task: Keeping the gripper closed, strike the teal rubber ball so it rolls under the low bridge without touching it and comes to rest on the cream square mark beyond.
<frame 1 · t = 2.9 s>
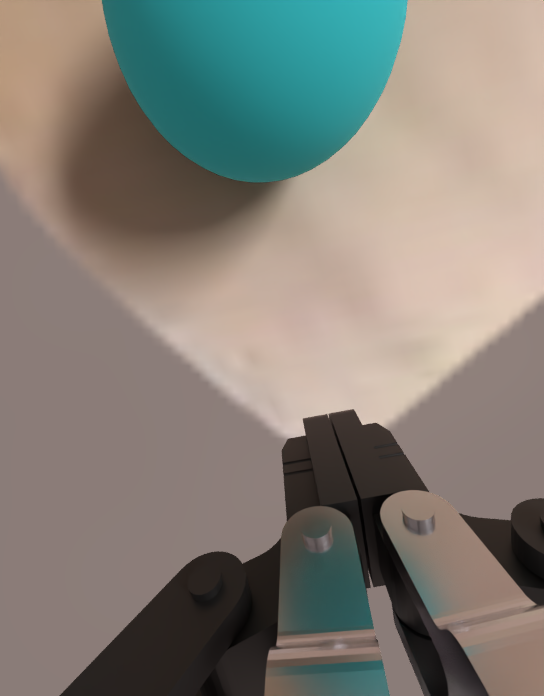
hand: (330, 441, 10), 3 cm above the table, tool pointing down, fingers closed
ball: (256, 25, 7), on the table
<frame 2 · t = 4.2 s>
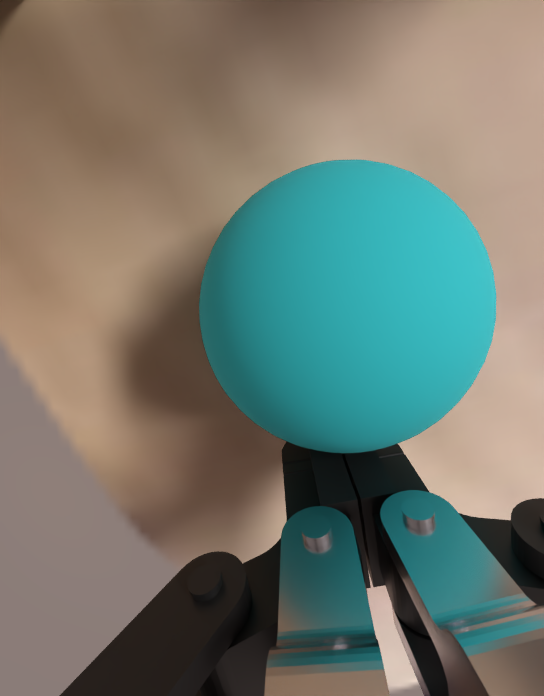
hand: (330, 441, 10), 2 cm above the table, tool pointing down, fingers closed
ball: (336, 312, 8), on the table
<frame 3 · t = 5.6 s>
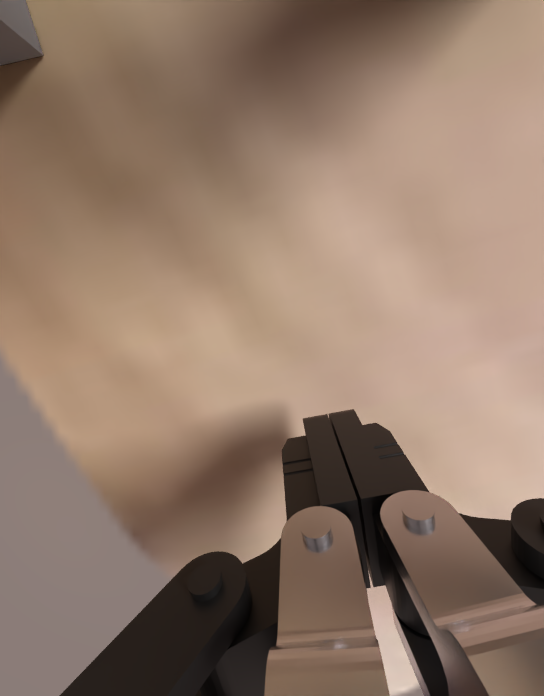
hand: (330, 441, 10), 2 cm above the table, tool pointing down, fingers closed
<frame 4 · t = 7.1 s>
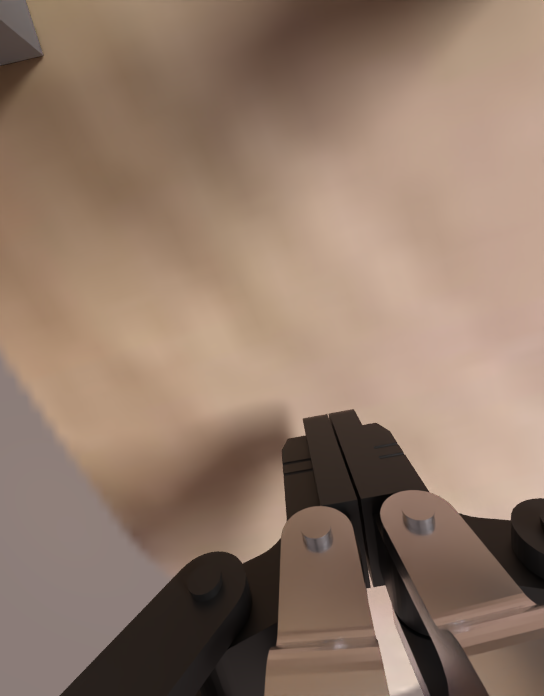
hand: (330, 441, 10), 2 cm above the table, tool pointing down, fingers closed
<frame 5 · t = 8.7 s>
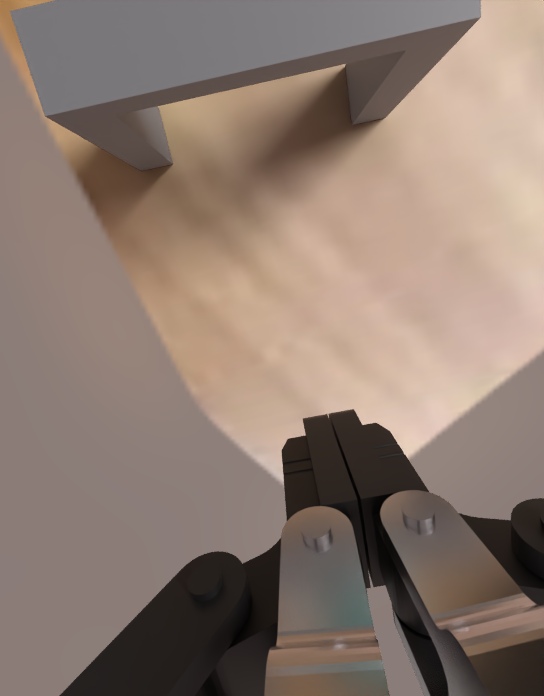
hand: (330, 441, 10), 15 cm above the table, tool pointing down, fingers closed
bridge: (256, 116, 21), on the table
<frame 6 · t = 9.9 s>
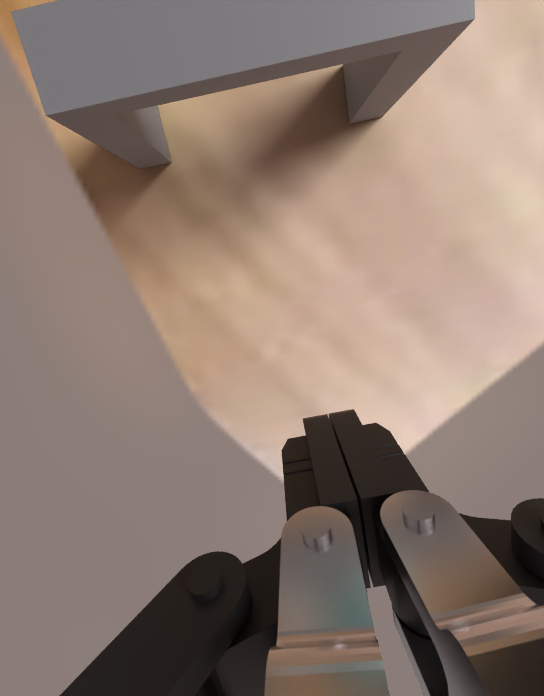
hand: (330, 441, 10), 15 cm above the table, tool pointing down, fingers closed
bridge: (254, 115, 21), on the table
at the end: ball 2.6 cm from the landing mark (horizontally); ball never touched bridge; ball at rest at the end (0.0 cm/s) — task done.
